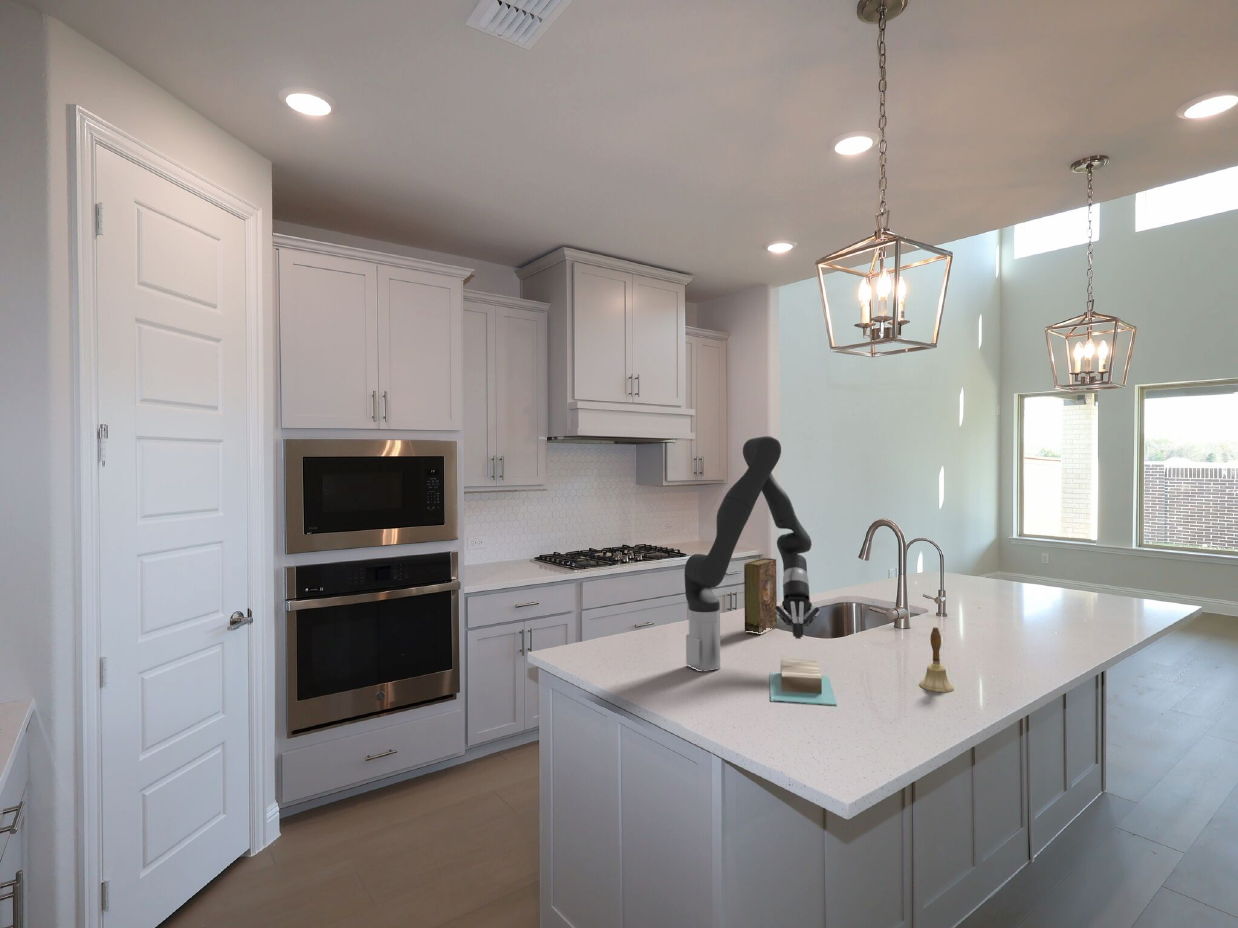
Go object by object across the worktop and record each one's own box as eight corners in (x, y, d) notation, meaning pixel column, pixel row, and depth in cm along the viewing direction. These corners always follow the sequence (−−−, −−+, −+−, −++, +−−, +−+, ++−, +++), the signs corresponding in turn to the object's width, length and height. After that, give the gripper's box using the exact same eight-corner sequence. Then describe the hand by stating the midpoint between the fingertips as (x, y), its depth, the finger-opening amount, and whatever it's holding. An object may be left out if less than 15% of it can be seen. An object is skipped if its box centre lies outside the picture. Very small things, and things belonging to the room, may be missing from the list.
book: (764, 624, 245) (763, 557, 245) (778, 626, 241) (777, 558, 242) (744, 633, 232) (744, 563, 232) (759, 636, 228) (758, 564, 228)
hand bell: (958, 693, 170) (957, 631, 170) (924, 691, 171) (923, 630, 171) (948, 682, 178) (947, 624, 178) (915, 681, 180) (914, 623, 180)
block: (817, 674, 185) (821, 693, 169) (780, 672, 187) (782, 691, 172) (816, 660, 185) (821, 678, 169) (780, 658, 187) (781, 675, 172)
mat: (836, 705, 162) (836, 703, 162) (770, 701, 165) (770, 699, 165) (828, 677, 183) (828, 675, 183) (770, 673, 187) (770, 672, 187)
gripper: (773, 578, 196) (774, 629, 184) (819, 579, 193) (823, 631, 181) (773, 592, 201) (774, 643, 189) (818, 594, 198) (821, 645, 186)
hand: (798, 637), depth 185 cm, fingers closed
